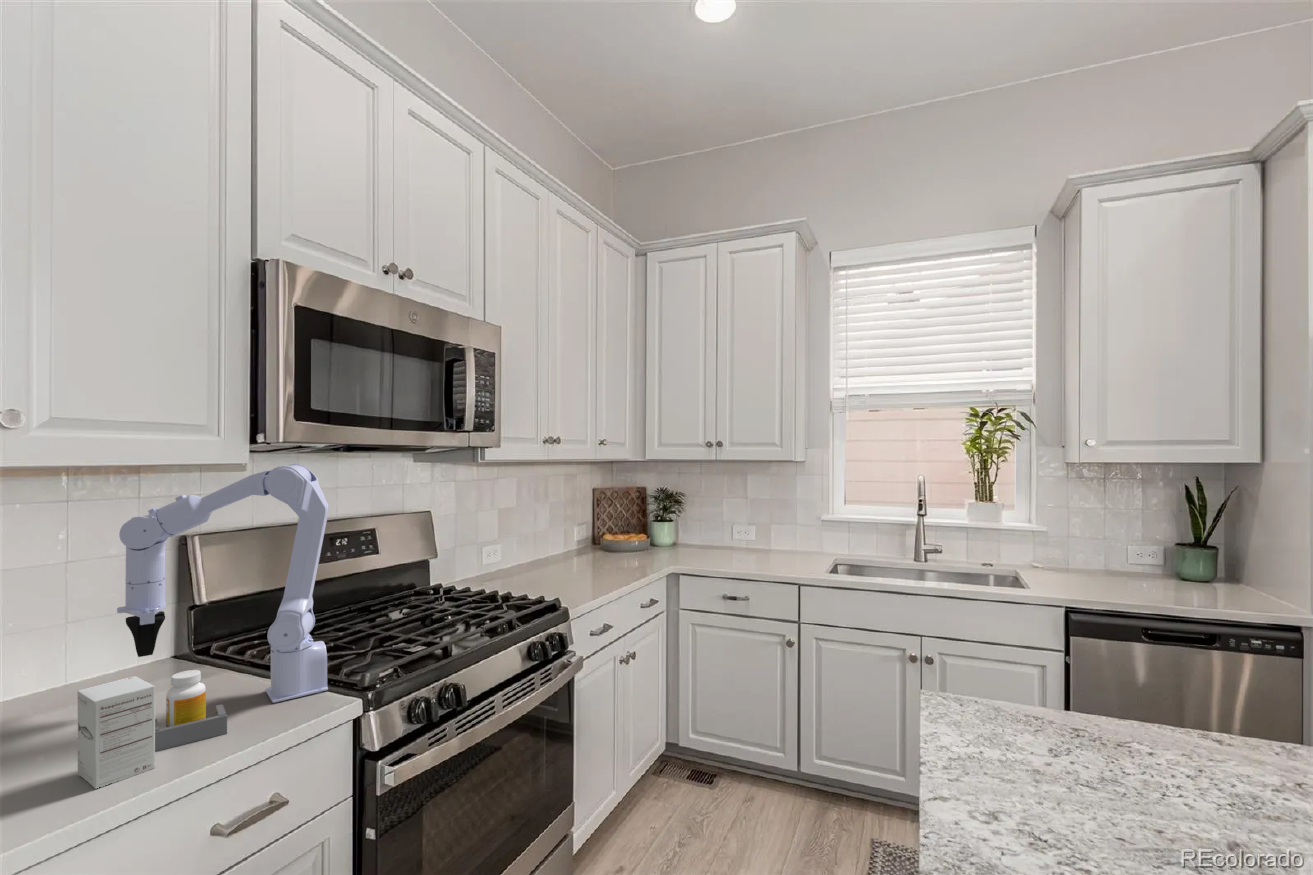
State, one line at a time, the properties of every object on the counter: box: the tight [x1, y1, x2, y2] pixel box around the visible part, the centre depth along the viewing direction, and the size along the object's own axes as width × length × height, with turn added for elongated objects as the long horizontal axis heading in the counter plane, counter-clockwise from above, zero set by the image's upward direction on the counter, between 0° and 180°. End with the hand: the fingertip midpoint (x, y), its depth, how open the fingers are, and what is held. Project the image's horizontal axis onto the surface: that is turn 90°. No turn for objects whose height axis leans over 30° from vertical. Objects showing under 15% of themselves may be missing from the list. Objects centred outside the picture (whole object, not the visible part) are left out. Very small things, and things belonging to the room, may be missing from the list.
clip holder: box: [155, 703, 228, 752], centre depth 106 cm, size 10×6×3 cm, turn 130°
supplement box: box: [77, 675, 156, 790], centre depth 95 cm, size 7×7×13 cm
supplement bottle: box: [165, 669, 207, 728], centre depth 108 cm, size 5×5×10 cm
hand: (145, 655), depth 118 cm, fingers closed
